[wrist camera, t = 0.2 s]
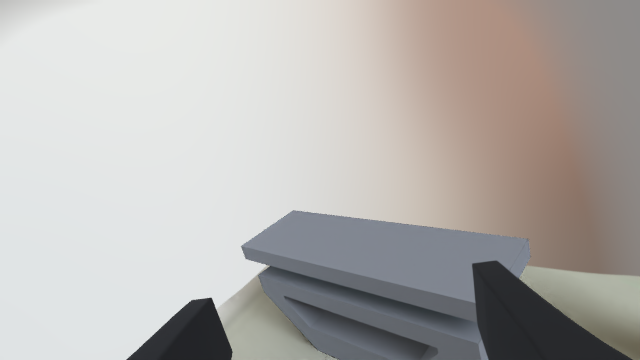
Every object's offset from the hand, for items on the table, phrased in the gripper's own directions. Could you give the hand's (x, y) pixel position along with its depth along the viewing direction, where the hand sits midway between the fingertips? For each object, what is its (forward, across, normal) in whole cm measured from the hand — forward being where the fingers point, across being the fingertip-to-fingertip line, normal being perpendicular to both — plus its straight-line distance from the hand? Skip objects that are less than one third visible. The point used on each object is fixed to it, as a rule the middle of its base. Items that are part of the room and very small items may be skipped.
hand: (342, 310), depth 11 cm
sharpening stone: (+21, 0, +22) cm, 31 cm away
